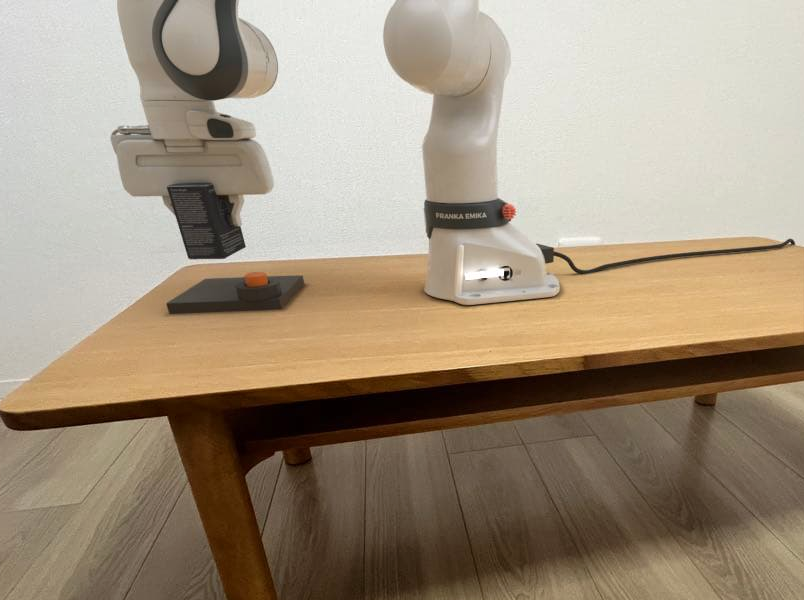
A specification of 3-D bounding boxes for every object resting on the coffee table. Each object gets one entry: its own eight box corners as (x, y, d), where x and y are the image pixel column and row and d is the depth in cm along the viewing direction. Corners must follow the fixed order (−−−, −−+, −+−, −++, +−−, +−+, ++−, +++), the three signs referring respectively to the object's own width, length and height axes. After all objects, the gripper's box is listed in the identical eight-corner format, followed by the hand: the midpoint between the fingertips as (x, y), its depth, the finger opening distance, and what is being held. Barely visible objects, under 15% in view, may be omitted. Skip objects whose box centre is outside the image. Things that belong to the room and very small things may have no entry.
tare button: (271, 282, 83) (268, 271, 82) (265, 288, 80) (262, 276, 79) (250, 283, 82) (248, 272, 82) (244, 289, 80) (241, 277, 79)
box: (211, 248, 88) (192, 178, 83) (247, 248, 88) (230, 178, 83) (186, 260, 81) (164, 184, 76) (224, 259, 81) (205, 184, 76)
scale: (304, 284, 93) (300, 264, 92) (280, 310, 80) (275, 287, 79) (207, 288, 92) (201, 267, 90) (168, 315, 79) (160, 292, 77)
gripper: (93, 125, 72) (128, 232, 79) (251, 125, 74) (273, 228, 81) (118, 125, 78) (150, 224, 84) (265, 124, 80) (285, 221, 86)
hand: (211, 226), depth 83 cm, fingers closed on box, 6 cm apart
